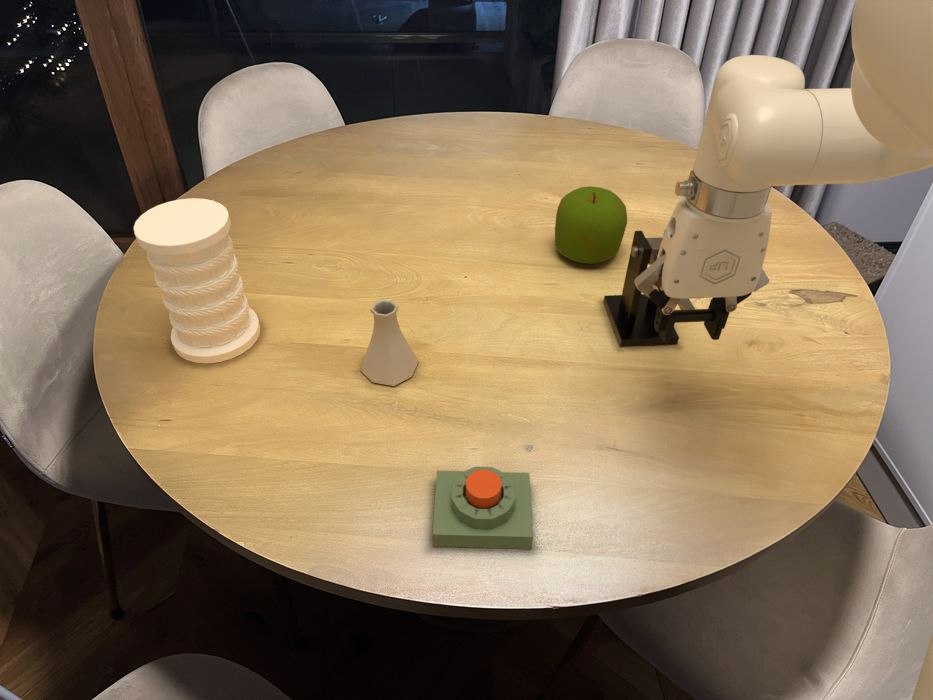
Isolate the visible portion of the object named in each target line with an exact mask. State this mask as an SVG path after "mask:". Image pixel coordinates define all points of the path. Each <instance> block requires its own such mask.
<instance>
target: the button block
mask: <svg viewBox="0 0 933 700" xmlns="http://www.w3.org/2000/svg"><path fill="white" fill-rule="evenodd" d="M477 470H489V471H492V472H494V473H495V474H497V475H498V476H499V478H500V480H501V484H502V485H501V497H500V500H499V501H498V503H497V504H496V505H494V506H492V507H490V508H477V507H475V506H473V505H472V504H470V503H469V501H468V500H467V498H466V480H467V478H468V476H469V475H470V474H471V473H473V472H475V471H477ZM434 492H435V493H434V495H435V496H434V506H433V508H434V509H433V520H432V547H443V548H479V549H480V548H481V549H482V548H483V549H515V550H516V549H518V550H519V549H522V550H524V549H525V550H531V549H532V548H533V547H532V546H533V541H534V533H533V532H534V530H533V517H532V516H533V512H532V497H531V496H532V495H531V480H530V472H515V471H513V472H510V471H508V472H507V471H501V470H499V469H497V468H495V467H493V466H473V467H471V468H469V469H466V470H436V479H435V491H434Z"/></svg>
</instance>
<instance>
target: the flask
mask: <svg viewBox="0 0 933 700" xmlns="http://www.w3.org/2000/svg"><path fill="white" fill-rule="evenodd" d="M398 310H399V304H397V303H396V302H395V301H393V300H391V299H384V298H381V299H380V300H378V301H375V302H374V303H372V306H371V308H370V309H369V311H370V313H371V314H372V315H373V329H372V335H371V336H370V337H371V338H370V340H369V344H368V346H367V349H366V353H365V355H364V358H363V361H362V364H361V366H360V369H359V370H360V371H361V373H362V374H364V376H366V378H367V379H368V380H370V382H372V383H375V384H381V385H386V386H391V387H395V386H397V385H399V384H400V383H402V382H404V381H406V380H409V379H411V378H412V377H413V376H414V374H415V371H416V369H417V368H418V367H417V366H418V364H419V362H420V361H419V359H418V358H417V356H416V354H415V353H414V351H413V350H412V348H411V346H410V345H409V343H408V341H407V339H406V337H405V336H404V334H403V332H402V330H401V327H400V325H399V322H398V321H399V320H398V315H397V313H398Z"/></svg>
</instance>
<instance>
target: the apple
mask: <svg viewBox="0 0 933 700" xmlns="http://www.w3.org/2000/svg"><path fill="white" fill-rule="evenodd" d="M627 225H628V211H627V206H626V204H625V203H624V202H623V199H621V198H620V197H619V196H618V195H617V194H616V193H615V192H613V191H612V190H611V189H607V188H603V187H599V186H598V187H597V186H590V185H589V186H581V187H579V188H576V189H573V190H571V191H570V192H568V193H567V194H565V195H564V196H563V197H562V198H560V202H559V204H558V206H557V209H556V214H555V223H554V245H555V247H556V249H557V251H558V253H559V254H561V255H562V256H564V257H565V258H567V259H569V260H571V261H573V262H576V263H579V264H592V265H593V264H598V263H604V262H606V261H608V260H610V259H612V258H614V257H615V256H616V255H617V254H618V253H619V251H620V248H621V245H622V242H623V239H624V235H625V232H626V229H627Z"/></svg>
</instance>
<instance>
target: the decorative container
mask: <svg viewBox="0 0 933 700" xmlns="http://www.w3.org/2000/svg"><path fill="white" fill-rule="evenodd" d="M227 209H228V208H227V207H226V206H224V205H223V204H222V203H220V202H218V201H215V200H212V199H207V198H198V197H196V198H195V197H191V198H180V199H175V200H171V201H167V202H164V203H161V204H157V205H155V206H154V207H151V208H150V209H147V211H145V212H144V213H142V214H141V215H140V216H139V217H138V218H137V219H136V220H135V222H134V225H133V232H134V236H135V240H136V242H137V244H138V245H139V246H140V247H141V248H142V249H143V250H146V260H147V263H148V264H149V265H150V267H151V268H152V269H153V270H154V273H153V274H154V282H155V283H156V286H157V287H158V289H159V290H160V291H161V301H162V303H163V305H164V307H165V308H166V309H167V311H168V317H169V322H170V324H171V326H172V329H171V332H170V341H171V345H172V347H173V349H174V351H175V353H176V354H177V355H178V357H180V358H182V359H184V360H186V361H188V362H192V363H195V364H217V363H221V362H226V361H229V360H232V359H234V358H237V357H238V356H241V355H242V354H244V353H245V352H247V351H248V350H249V349H251V348H252V347H253V346H254V344H255V343H256V342H257V341H258V339H259V337H260V335H261V323H260V320H259V317H258V315H257V313H256V311H254V310H253V309H252V308H251V307H250V305H249V304H250V303H249V299H248V298H247V295H246V294H245V293H244V291H245V286H244V284H245V282H243V281H244V280H243V279H242V277H241V274H239V270H240V266H239V262H238V261H239V260H238V259H237V256H236V255H235V253H234V244H233V243H234V241H232V240H233V239H232V237H231V235H230V233H229V231H230V229H231V225H232V222H231V217H230V213H229V211H228V210H227Z"/></svg>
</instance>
